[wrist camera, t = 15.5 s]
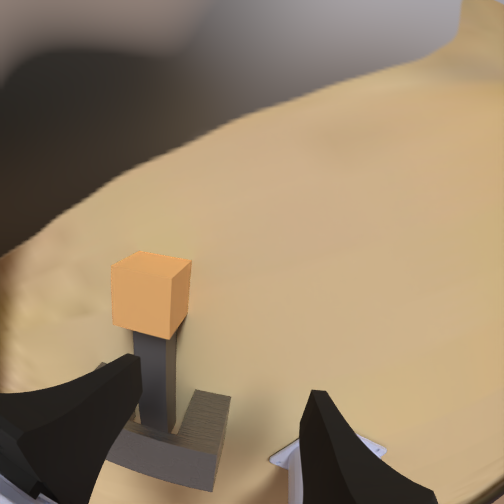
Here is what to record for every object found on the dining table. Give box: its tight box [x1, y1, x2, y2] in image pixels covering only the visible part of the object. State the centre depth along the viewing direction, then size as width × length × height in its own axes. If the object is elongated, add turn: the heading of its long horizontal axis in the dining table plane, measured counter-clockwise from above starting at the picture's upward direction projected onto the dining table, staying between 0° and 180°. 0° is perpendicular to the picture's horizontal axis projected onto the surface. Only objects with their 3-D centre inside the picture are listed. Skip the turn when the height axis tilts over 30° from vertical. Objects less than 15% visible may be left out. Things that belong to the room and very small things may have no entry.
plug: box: [111, 251, 192, 433], centre depth 20 cm, size 16×4×4 cm, turn 172°
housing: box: [94, 362, 231, 492], centre depth 20 cm, size 6×12×6 cm, turn 81°
